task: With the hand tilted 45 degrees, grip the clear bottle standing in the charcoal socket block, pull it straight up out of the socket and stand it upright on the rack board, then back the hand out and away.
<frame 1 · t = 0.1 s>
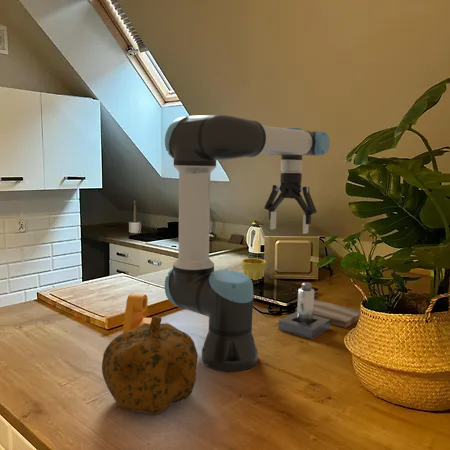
hand: (288, 231, 163), 28 cm above the worktop, fingers open, 13 cm apart
bracket: (141, 332, 139), on the worktop
clear bottle: (304, 329, 145), resting in socket block
decorative pumpkin: (150, 400, 101), on the worktop
socket block: (304, 328, 145), on the worktop
plant pot: (253, 283, 197), on the worktop
rack board: (329, 315, 158), on the worktop
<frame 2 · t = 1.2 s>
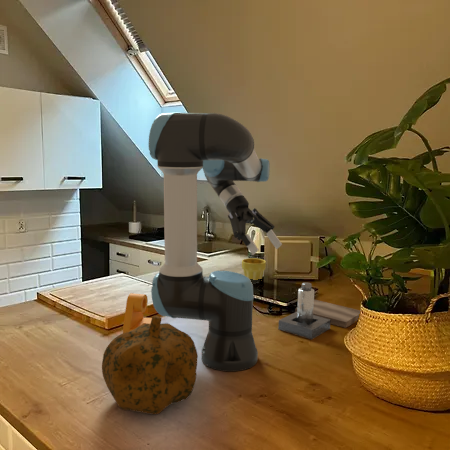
hand: (267, 249, 151), 24 cm above the worktop, fingers open, 13 cm apart
nothing on the worktop moved.
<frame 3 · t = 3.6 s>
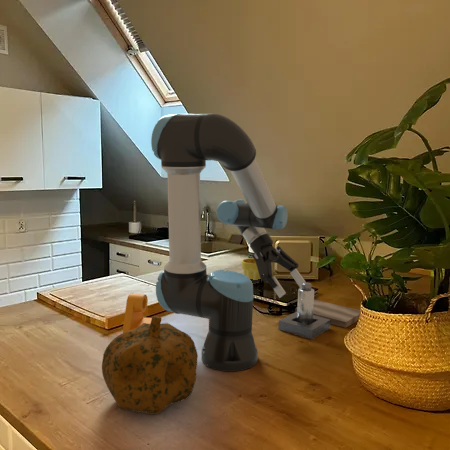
hand: (293, 291, 148), 11 cm above the worktop, fingers open, 13 cm apart
nothing on the worktop moved.
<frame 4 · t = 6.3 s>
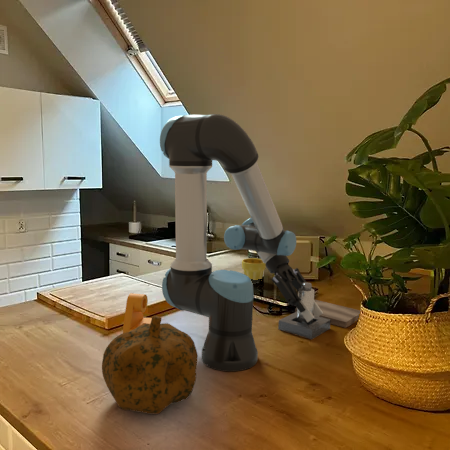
hand: (315, 317, 142), 5 cm above the worktop, fingers closed on clear bottle, 5 cm apart
clear bottle: (304, 328, 145), resting in socket block, touching gripper
everything else where it was.
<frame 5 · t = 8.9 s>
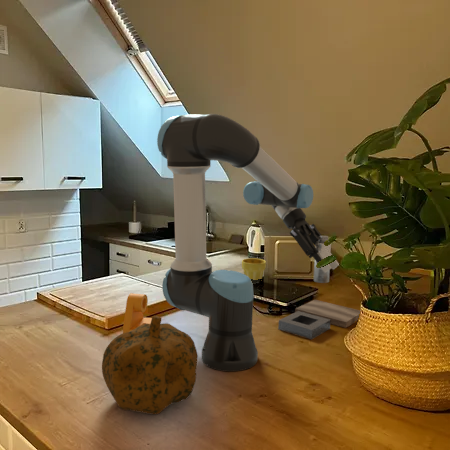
hand: (332, 268, 147), 19 cm above the worktop, fingers closed on clear bottle, 5 cm apart
clear bottle: (321, 280, 150), point 14 cm above the worktop, touching gripper
everything else where it was.
when the fingers open (8 cm above the worktop, at t = 12.0 s): clear bottle drops 1 cm, resting on rack board.
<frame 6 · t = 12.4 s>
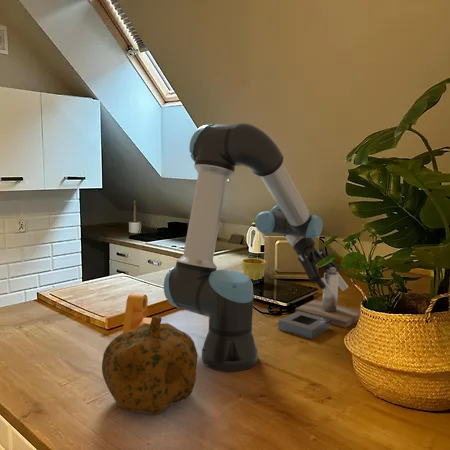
hand: (338, 292, 154), 9 cm above the worktop, fingers open, 10 cm apart
clear bottle: (329, 310, 157), point 2 cm above the worktop, touching rack board
everything else where it was.
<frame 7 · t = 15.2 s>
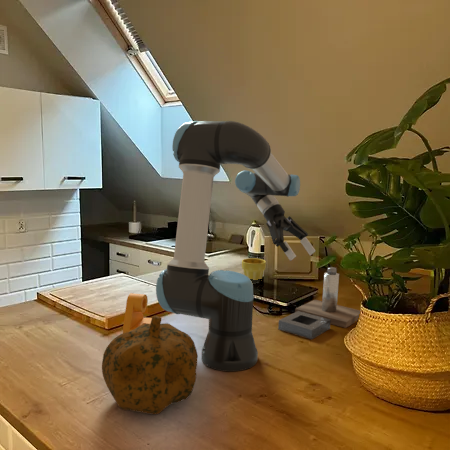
hand: (303, 255, 161), 20 cm above the worktop, fingers open, 13 cm apart
nothing on the worktop moved.
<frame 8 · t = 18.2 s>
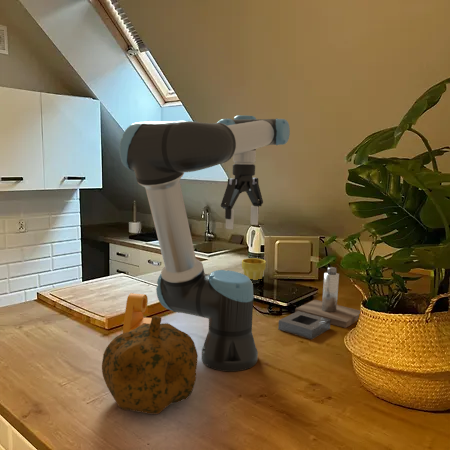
hand: (242, 226, 153), 31 cm above the worktop, fingers open, 13 cm apart
nothing on the worktop moved.
at the end: clear bottle inside the target area on the rack board (0.1 cm from its centre), point 2.0 cm above the rack board's base; clear bottle tilted 1°; the gripper is holding nothing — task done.
